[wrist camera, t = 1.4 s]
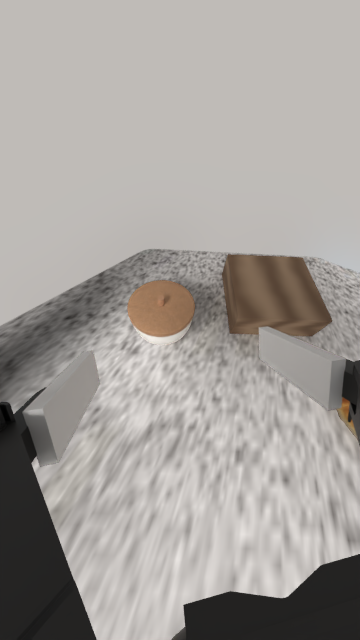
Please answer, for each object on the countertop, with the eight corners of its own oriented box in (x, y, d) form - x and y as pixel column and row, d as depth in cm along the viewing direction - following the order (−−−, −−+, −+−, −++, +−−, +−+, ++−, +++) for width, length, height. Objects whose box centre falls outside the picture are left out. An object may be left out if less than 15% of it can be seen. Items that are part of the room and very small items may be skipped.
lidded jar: (145, 301, 40) (139, 267, 32) (195, 312, 39) (201, 279, 31) (126, 347, 35) (113, 319, 27) (184, 360, 34) (188, 335, 26)
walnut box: (229, 334, 37) (238, 317, 32) (221, 275, 46) (227, 254, 40) (310, 337, 37) (332, 321, 32) (288, 277, 46) (302, 257, 41)
